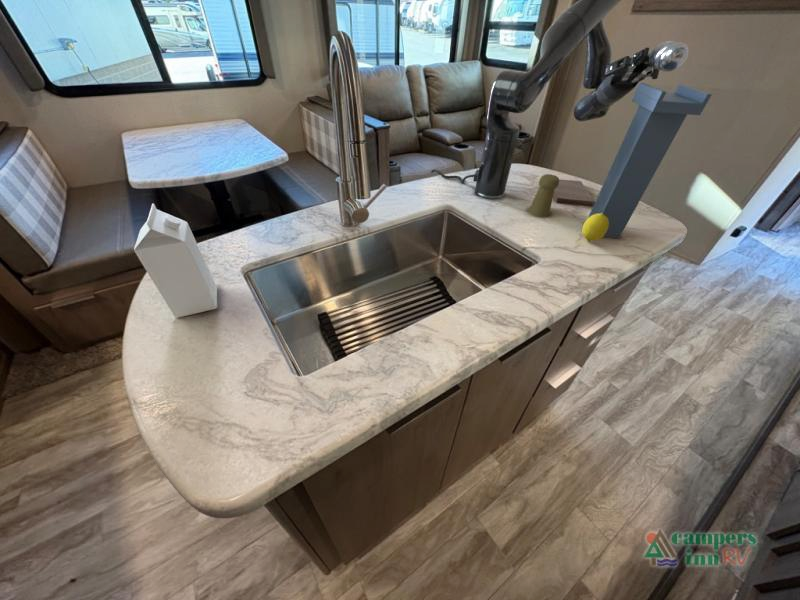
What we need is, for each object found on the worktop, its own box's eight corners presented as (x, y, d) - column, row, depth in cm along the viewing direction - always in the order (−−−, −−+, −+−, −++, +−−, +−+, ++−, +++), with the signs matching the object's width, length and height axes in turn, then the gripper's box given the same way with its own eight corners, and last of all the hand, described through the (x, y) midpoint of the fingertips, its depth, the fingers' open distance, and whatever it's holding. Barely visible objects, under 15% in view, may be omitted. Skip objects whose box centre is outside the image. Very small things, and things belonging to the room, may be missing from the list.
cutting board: (592, 205, 101) (594, 201, 100) (556, 202, 103) (557, 197, 102) (579, 185, 114) (581, 181, 113) (547, 182, 115) (548, 178, 114)
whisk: (684, 73, 68) (698, 42, 64) (658, 72, 68) (671, 42, 65) (646, 62, 83) (656, 37, 80) (625, 62, 84) (634, 37, 80)
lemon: (590, 248, 82) (604, 220, 77) (572, 238, 86) (585, 210, 80) (604, 244, 84) (619, 216, 79) (586, 234, 88) (599, 206, 82)
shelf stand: (626, 243, 84) (712, 94, 62) (590, 239, 85) (662, 91, 63) (611, 222, 93) (682, 85, 71) (579, 219, 94) (639, 82, 72)
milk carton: (175, 319, 59) (118, 227, 47) (178, 295, 64) (127, 206, 52) (217, 309, 62) (174, 218, 49) (217, 287, 66) (177, 200, 54)
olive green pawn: (545, 218, 94) (558, 181, 86) (525, 212, 96) (536, 176, 89) (551, 211, 97) (565, 175, 90) (532, 206, 100) (544, 170, 93)
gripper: (594, 69, 92) (626, 32, 76) (645, 72, 91) (690, 35, 74) (588, 98, 94) (618, 68, 77) (638, 101, 92) (681, 71, 76)
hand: (653, 52), depth 76 cm, fingers closed on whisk, 2 cm apart
